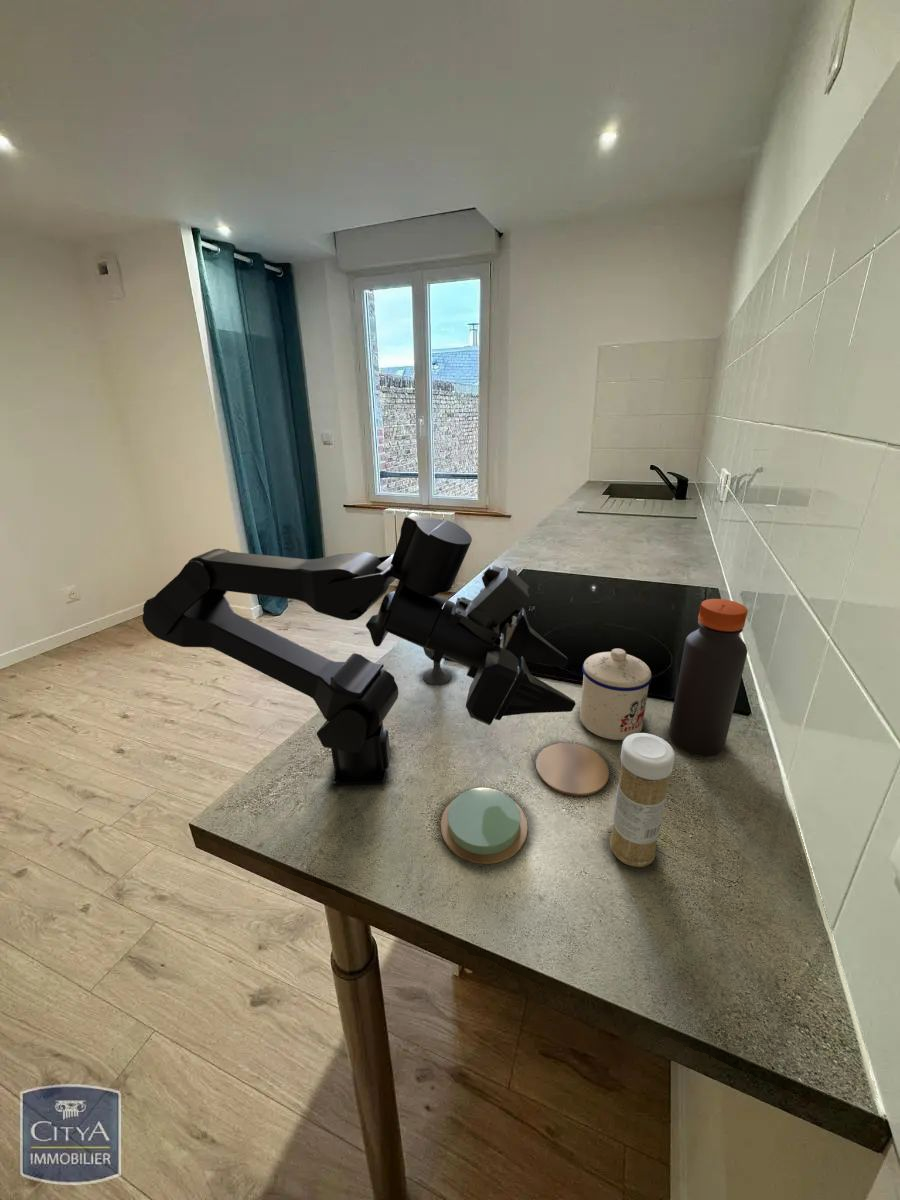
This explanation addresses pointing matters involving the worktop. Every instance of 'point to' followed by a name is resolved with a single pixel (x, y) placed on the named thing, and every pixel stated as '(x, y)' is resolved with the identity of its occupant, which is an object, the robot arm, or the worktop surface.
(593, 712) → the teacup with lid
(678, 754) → the worktop surface
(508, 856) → the saucer coaster
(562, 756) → the coaster
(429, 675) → the sundae
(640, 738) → the sprinkles bottle
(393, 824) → the worktop surface
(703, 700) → the vinegar
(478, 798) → the green flat disc
